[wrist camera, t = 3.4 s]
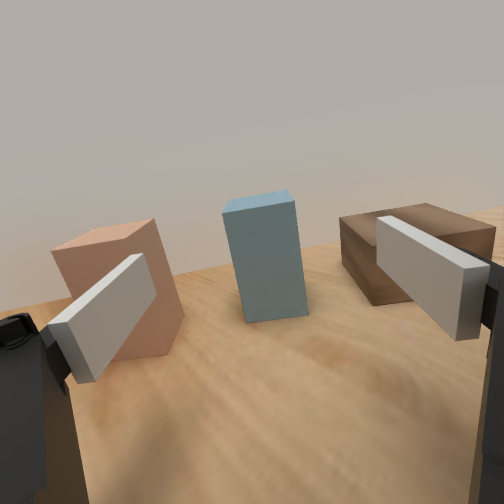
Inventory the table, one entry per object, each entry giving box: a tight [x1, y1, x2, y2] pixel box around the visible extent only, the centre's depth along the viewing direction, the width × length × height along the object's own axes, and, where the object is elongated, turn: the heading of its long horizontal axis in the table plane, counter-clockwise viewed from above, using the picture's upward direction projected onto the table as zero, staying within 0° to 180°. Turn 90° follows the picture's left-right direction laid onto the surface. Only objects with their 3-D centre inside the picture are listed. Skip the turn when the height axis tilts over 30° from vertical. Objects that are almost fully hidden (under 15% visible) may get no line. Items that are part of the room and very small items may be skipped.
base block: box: [339, 203, 496, 306], centre depth 28 cm, size 10×10×6 cm
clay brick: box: [51, 218, 184, 362], centre depth 25 cm, size 6×6×11 cm
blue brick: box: [222, 190, 308, 323], centre depth 27 cm, size 6×6×11 cm
